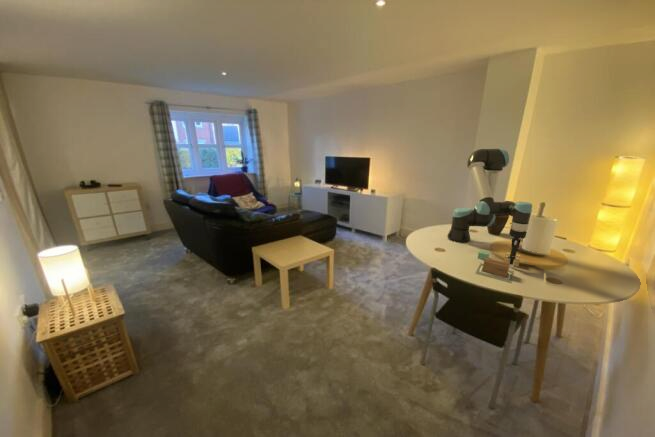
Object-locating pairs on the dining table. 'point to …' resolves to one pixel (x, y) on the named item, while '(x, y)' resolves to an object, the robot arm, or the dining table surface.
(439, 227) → the dining table surface
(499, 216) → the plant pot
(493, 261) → the walnut foundation
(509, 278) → the grey flat square plate
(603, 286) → the dining table surface
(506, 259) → the oak block
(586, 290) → the dining table surface
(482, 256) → the teal cube
